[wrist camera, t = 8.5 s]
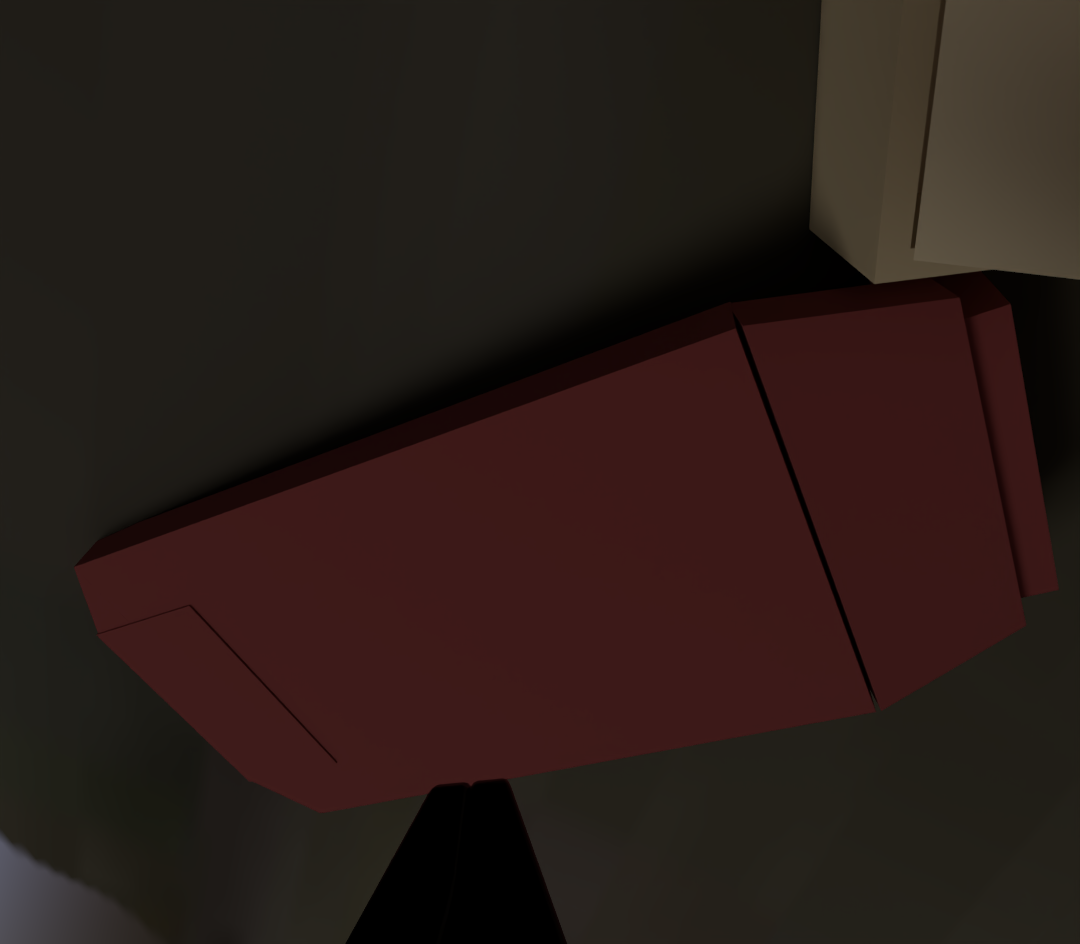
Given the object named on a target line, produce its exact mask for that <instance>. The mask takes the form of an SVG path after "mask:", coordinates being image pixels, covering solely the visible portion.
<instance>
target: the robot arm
mask: <svg viewBox="0 0 1080 944" xmlns="http://www.w3.org/2000/svg"><path fill="white" fill-rule="evenodd" d="M346 944H567V942H566V939H565V937H564V934H563V931H562V928H561V925H560V923H559V920H558V917H557V914H556V911H555V909H554V906H553V903H552V900H551V897H550V895H549V892H548V889H547V886H546V883H545V881H544V878H543V875H542V872H541V869H540V867H539V864H538V861H537V858H536V855H535V853H534V850H533V847H532V844H531V841H530V839H529V836H528V833H527V830H526V827H525V825H524V822H523V819H522V816H521V813H520V811H519V808H518V805H517V802H516V800H515V797H514V794H513V791H512V788H511V786H510V784H509V782H508V780H507V779H504V778H500V779H489V780H479V781H476V782H474V783H473V784H472V786H470V784H469V783H467V782H458V783H448V784H439V785H436V786H435V787H433V788H432V789H431V790H430V792H429V793H428V795H427V797H426V799H425V800H424V802H423V804H422V806H421V808H420V810H419V811H418V813H417V815H416V817H415V819H414V820H413V822H412V824H411V826H410V828H409V829H408V831H407V833H406V835H405V837H404V839H403V840H402V842H401V844H400V846H399V848H398V849H397V851H396V853H395V855H394V857H393V858H392V860H391V862H390V864H389V866H388V868H387V869H386V871H385V873H384V875H383V877H382V878H381V880H380V882H379V884H378V886H377V888H376V889H375V891H374V893H373V895H372V897H371V898H370V900H369V902H368V904H367V906H366V907H365V909H364V911H363V913H362V915H361V917H360V918H359V920H358V922H357V924H356V926H355V927H354V929H353V931H352V933H351V935H350V936H349V938H348V940H347V942H346Z"/></svg>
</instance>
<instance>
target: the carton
mask: <svg viewBox="0 0 1080 944" xmlns="http://www.w3.org/2000/svg"><path fill="white" fill-rule="evenodd" d="M869 282H870V285H862V286H855V287H847V288H839V289H832V290H824V291H817V292H809V293H801V294H794V295H786V296H779V297H771V298H764V299H756V300H748V301H741V302H733V303H731V302H727V303H725V304H722V305H719V306H717V307H714V308H711V309H709V310H706V311H703V312H701V313H698V314H695V315H693V316H690V317H687V318H685V319H682V320H679V321H677V322H674V323H671V324H668V325H666V326H663V327H660V328H658V329H655V330H652V331H650V332H647V333H644V334H642V335H639V336H636V337H634V338H631V339H628V340H626V341H623V342H620V343H618V344H615V345H612V346H610V347H607V348H604V349H602V350H599V351H596V352H594V353H591V354H588V355H585V356H583V357H580V358H577V359H575V360H572V361H569V362H567V363H564V364H561V365H559V366H556V367H553V368H551V369H548V370H545V371H543V372H540V373H537V374H535V375H532V376H529V377H527V378H524V379H521V380H519V381H516V382H513V383H510V384H508V385H505V386H502V387H500V388H497V389H494V390H492V391H489V392H486V393H484V394H481V395H478V396H476V397H473V398H470V399H468V400H465V401H462V402H460V403H457V404H454V405H452V406H449V407H446V408H444V409H441V410H438V411H436V412H433V413H430V414H427V415H425V416H422V417H419V418H417V419H414V420H411V421H409V422H406V423H403V424H401V425H398V426H395V427H393V428H390V429H387V430H385V431H382V432H379V433H377V434H374V435H371V436H369V437H366V438H363V439H361V440H358V441H355V442H352V443H350V444H347V445H344V446H342V447H339V448H336V449H334V450H331V451H328V452H326V453H323V454H320V455H318V456H315V457H312V458H310V459H307V460H304V461H302V462H299V463H296V464H294V465H291V466H288V467H286V468H283V469H280V470H278V471H275V472H272V473H269V474H267V475H264V476H261V477H259V478H256V479H253V480H251V481H248V482H245V483H243V484H240V485H237V486H235V487H232V488H229V489H227V490H224V491H221V492H219V493H216V494H213V495H211V496H208V497H205V498H203V499H200V500H197V501H194V502H192V503H189V504H186V505H184V506H181V507H178V508H176V509H173V510H170V511H168V512H165V513H162V514H160V515H157V516H154V517H152V518H149V519H146V520H144V521H141V522H138V523H136V524H134V525H132V526H129V527H127V528H125V529H123V530H121V531H118V532H116V533H114V534H112V535H110V536H107V537H105V538H103V539H101V540H99V541H97V542H96V543H95V544H94V545H93V546H92V547H91V549H90V550H89V551H88V552H87V553H86V554H85V555H84V556H83V557H82V559H81V560H80V561H79V562H78V563H77V564H76V565H75V566H74V569H75V571H76V574H77V577H78V580H79V582H80V585H81V588H82V590H83V593H84V596H85V599H86V601H87V604H88V607H89V609H90V612H91V615H92V618H93V620H94V623H95V626H96V629H97V631H98V634H97V636H98V637H99V638H100V639H101V640H102V641H103V642H104V643H105V644H106V645H107V646H108V647H109V648H110V649H112V650H113V651H114V652H115V653H116V654H117V655H118V656H119V657H120V658H121V659H122V660H123V661H124V662H125V663H126V664H127V665H128V666H129V667H130V668H131V669H132V670H133V671H134V672H136V673H137V674H138V675H139V676H140V677H141V678H142V679H143V680H144V681H145V682H146V683H147V684H148V685H149V686H150V687H151V688H152V689H153V690H154V691H155V692H156V693H157V694H159V695H160V696H161V697H162V698H163V699H164V700H165V701H166V702H167V703H168V704H169V705H170V706H171V707H172V708H173V709H174V710H175V711H176V712H177V713H178V714H179V715H180V716H181V717H183V718H184V719H185V720H186V721H187V722H188V723H189V724H190V725H191V726H192V727H193V728H194V729H195V730H196V731H197V732H198V733H199V734H200V735H201V736H202V737H203V738H204V739H205V740H207V741H208V742H209V743H210V744H211V745H212V746H213V747H214V748H215V749H216V750H217V751H218V752H219V753H220V754H221V755H222V756H223V757H224V758H225V759H226V760H227V761H228V762H229V763H231V764H232V765H233V766H234V767H235V768H236V769H237V770H238V771H239V772H240V773H241V774H242V775H243V776H244V777H245V778H246V779H247V780H248V781H249V782H250V781H253V782H255V783H257V784H259V785H261V786H264V787H266V788H268V789H270V790H272V791H274V792H276V793H279V794H281V795H283V796H285V797H287V798H289V799H291V800H294V801H296V802H298V803H300V804H302V805H304V806H306V807H308V808H311V809H313V810H315V811H317V812H319V813H325V812H330V811H336V810H341V809H347V808H352V807H358V806H363V805H369V804H374V803H380V802H385V801H391V800H396V799H401V798H407V797H412V796H418V795H423V794H428V793H429V792H430V790H431V789H432V788H433V787H435V786H436V785H439V784H448V783H458V782H467V783H469V784H470V786H472V784H473V783H474V782H476V781H479V780H489V779H500V778H504V779H511V778H516V777H522V776H527V775H533V774H538V773H544V772H549V771H555V770H560V769H566V768H571V767H577V766H582V765H587V764H593V763H598V762H604V761H609V760H615V759H620V758H626V757H631V756H637V755H642V754H648V753H653V752H659V751H664V750H670V749H675V748H680V747H686V746H691V745H697V744H702V743H708V742H713V741H719V740H724V739H730V738H735V737H741V736H746V735H752V734H757V733H762V732H768V731H773V730H779V729H784V728H790V727H795V726H801V725H806V724H812V723H817V722H823V721H828V720H834V719H839V718H845V717H850V716H855V715H861V714H866V713H872V712H876V711H875V707H874V703H873V700H872V696H871V693H870V690H871V692H872V694H873V696H874V698H875V700H876V701H877V703H878V705H879V707H880V709H881V711H882V710H884V709H885V708H887V707H889V706H890V705H892V704H894V703H895V702H897V701H899V700H901V699H902V698H904V697H906V696H907V695H909V694H911V693H912V692H914V691H916V690H917V689H919V688H921V687H923V686H924V685H926V684H928V683H929V682H931V681H933V680H934V679H936V678H938V677H940V676H941V675H943V674H945V673H946V672H948V671H950V670H951V669H953V668H955V667H957V666H958V665H960V664H962V663H963V662H965V661H967V660H968V659H970V658H972V657H973V656H975V655H977V654H979V653H980V652H982V651H984V650H985V649H987V648H989V647H990V646H992V645H994V644H996V643H997V642H999V641H1001V640H1002V639H1004V638H1006V637H1007V636H1009V635H1011V634H1012V633H1014V632H1016V631H1018V630H1019V629H1021V628H1023V627H1024V626H1026V622H1025V617H1024V612H1023V607H1022V602H1021V598H1023V597H1027V596H1032V595H1037V594H1041V593H1046V592H1050V591H1055V590H1059V588H1058V582H1057V576H1056V570H1055V564H1054V558H1053V553H1052V547H1051V541H1050V535H1049V529H1048V523H1047V517H1046V511H1045V505H1044V499H1043V493H1042V487H1041V481H1040V475H1039V469H1038V463H1037V458H1036V452H1035V446H1034V440H1033V434H1032V428H1031V422H1030V416H1029V410H1028V404H1027V398H1026V392H1025V386H1024V380H1023V374H1022V368H1021V363H1020V357H1019V351H1018V345H1017V339H1016V333H1015V327H1014V321H1013V315H1012V309H1011V304H1010V303H1009V301H1008V300H1007V299H1006V298H1005V297H1004V296H1003V295H1002V294H1001V293H1000V292H999V290H998V289H997V288H996V287H995V286H994V285H993V284H992V283H991V282H990V281H989V279H988V278H987V277H986V276H985V275H984V274H983V273H982V272H981V271H976V272H968V273H960V274H952V275H944V276H936V277H928V278H919V279H911V280H903V281H895V282H887V283H879V284H874V283H873V282H871V281H870V280H869ZM869 688H870V689H869Z"/></svg>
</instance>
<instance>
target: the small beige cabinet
mask: <svg viewBox="0 0 1080 944" xmlns="http://www.w3.org/2000/svg"><path fill="white" fill-rule="evenodd" d="M945 5H946V0H822V7H821V25H820V43H819V61H818V79H817V97H816V116H815V134H814V152H813V170H812V188H811V207H810V225H809V229H810V230H811V231H812V232H813V233H814V234H816V235H817V236H818V237H819V238H820V239H821V240H823V241H824V242H825V243H826V244H827V245H829V246H830V247H831V248H832V249H833V250H835V251H836V252H837V253H838V254H839V255H840V256H842V257H843V258H844V259H845V260H846V261H848V262H849V263H850V264H851V265H852V266H854V267H855V268H856V269H857V270H858V271H859V272H861V273H862V274H863V275H864V276H865V277H867V278H868V279H869V280H870V281H871V282H873V283H874V284H879V283H887V282H895V281H903V280H911V279H919V278H928V277H936V276H944V275H952V274H960V273H968V272H976V271H984V270H993V269H985V268H976V267H967V266H959V265H950V264H942V263H933V262H925V261H916V260H914V252H915V244H916V236H917V228H918V220H919V212H920V204H921V196H922V188H923V180H924V172H925V164H926V156H927V148H928V140H929V132H930V124H931V116H932V108H933V100H934V93H935V85H936V77H937V69H938V61H939V53H940V45H941V37H942V29H943V21H944V13H945Z"/></svg>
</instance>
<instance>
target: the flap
mask: <svg viewBox="0 0 1080 944" xmlns="http://www.w3.org/2000/svg"><path fill="white" fill-rule="evenodd" d="M914 260H916V261H925V262H933V263H942V264H950V265H959V266H967V267H976V268H985V269H993V270H1002V271H1010V272H1019V273H1027V274H1036V275H1044V276H1053V277H1062V278H1070V279H1079V280H1080V0H946V5H945V13H944V21H943V29H942V37H941V45H940V53H939V61H938V69H937V77H936V85H935V93H934V100H933V108H932V116H931V124H930V132H929V140H928V148H927V156H926V164H925V172H924V180H923V188H922V196H921V204H920V212H919V220H918V228H917V236H916V244H915V252H914Z"/></svg>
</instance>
